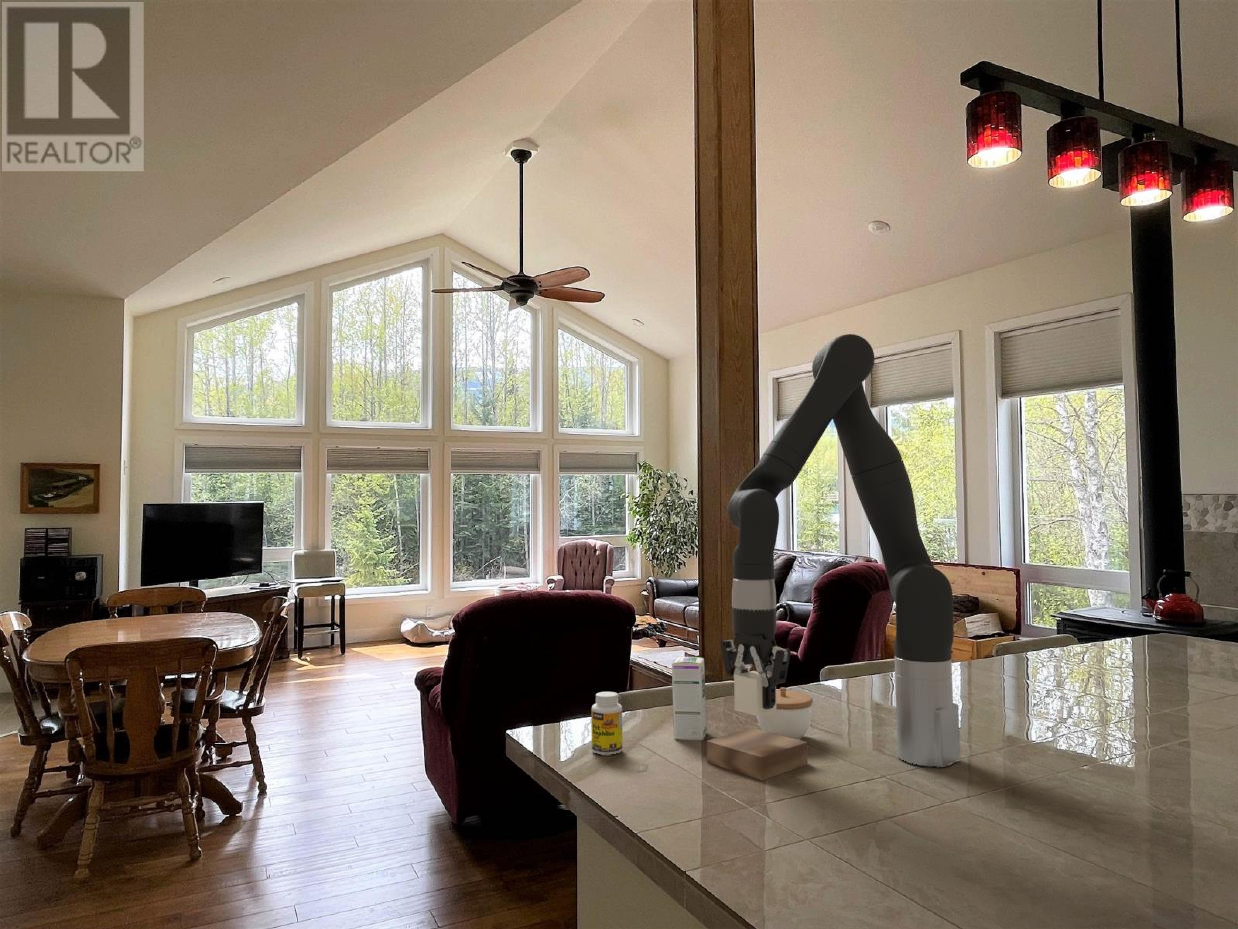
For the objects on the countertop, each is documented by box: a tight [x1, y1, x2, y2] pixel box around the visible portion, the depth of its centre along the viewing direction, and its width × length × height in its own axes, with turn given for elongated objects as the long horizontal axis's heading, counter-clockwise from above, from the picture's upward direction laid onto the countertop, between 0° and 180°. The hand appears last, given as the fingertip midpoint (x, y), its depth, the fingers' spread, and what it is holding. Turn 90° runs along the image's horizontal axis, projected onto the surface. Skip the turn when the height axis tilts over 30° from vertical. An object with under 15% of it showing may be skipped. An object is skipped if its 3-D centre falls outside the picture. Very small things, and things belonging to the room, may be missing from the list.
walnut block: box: [706, 727, 809, 781], centre depth 134 cm, size 12×12×4 cm
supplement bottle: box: [590, 691, 623, 756], centre depth 141 cm, size 6×6×10 cm
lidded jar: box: [756, 686, 813, 741], centre depth 148 cm, size 11×11×9 cm
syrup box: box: [671, 656, 708, 741], centre depth 151 cm, size 6×6×14 cm
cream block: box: [733, 670, 776, 716], centre depth 135 cm, size 5×5×6 cm
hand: (755, 704), depth 135 cm, fingers closed on cream block, 5 cm apart
